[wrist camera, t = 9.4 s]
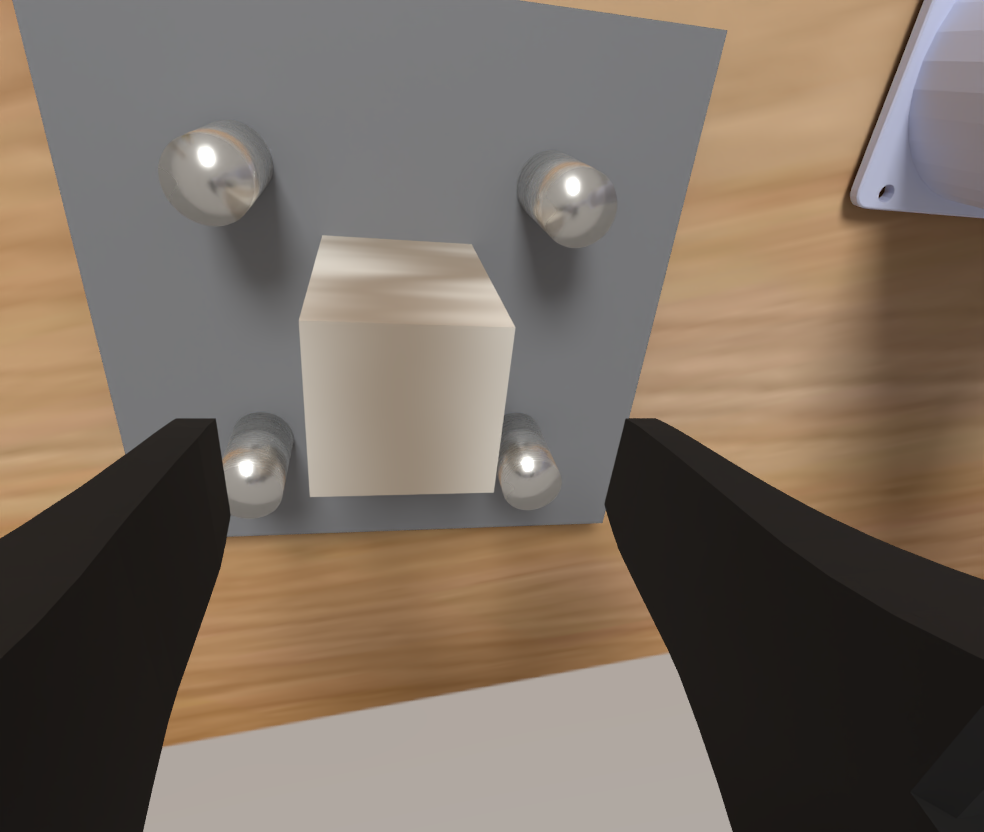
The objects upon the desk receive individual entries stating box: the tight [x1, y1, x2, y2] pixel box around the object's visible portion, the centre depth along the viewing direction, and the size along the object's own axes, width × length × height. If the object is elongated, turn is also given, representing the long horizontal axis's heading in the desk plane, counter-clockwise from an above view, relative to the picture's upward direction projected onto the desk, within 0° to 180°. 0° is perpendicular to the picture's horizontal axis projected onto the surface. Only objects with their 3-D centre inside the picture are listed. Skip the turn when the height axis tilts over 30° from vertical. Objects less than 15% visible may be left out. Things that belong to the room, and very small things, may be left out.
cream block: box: [299, 235, 515, 497], centre depth 15 cm, size 4×4×6 cm
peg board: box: [12, 0, 727, 537], centre depth 17 cm, size 16×16×4 cm
